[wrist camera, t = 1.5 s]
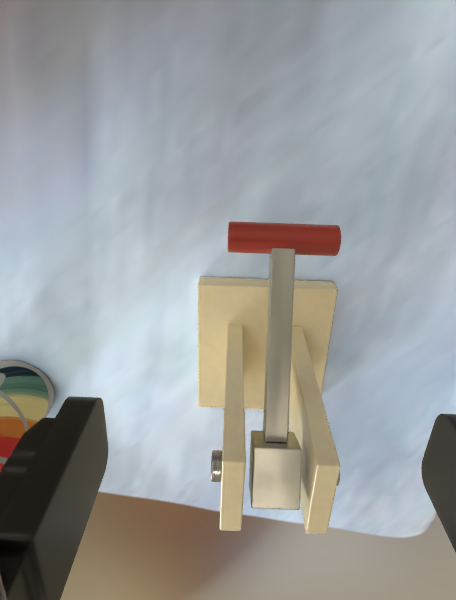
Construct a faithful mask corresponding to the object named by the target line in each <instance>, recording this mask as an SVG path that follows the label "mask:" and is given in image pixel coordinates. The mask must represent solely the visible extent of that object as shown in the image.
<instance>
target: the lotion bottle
mask: <svg viewBox="0 0 456 600" xmlns="http://www.w3.org/2000/svg"><path fill="white" fill-rule="evenodd" d="M53 401H54V390H53V387H52V384H51V382H50V381H49V379H48V378H47V377H46V375H45V374H44V373H43V372H41V371H40V370H39V369H37V368H36V367H34V366H32V365H30V364H28V363H25V362H21V361H15V360H6V361H0V473H1V471H2V467H3V466H4V464H5V462H6V461H7V459H8V458H9V456H11V455H12V451H13V450H14V448H15V447H16V445H17V443H18V442H19V440H20V439H21V437H22V435H23V434H24V433H25V432H26V431H27V430H29V429H30V428H31V427H32V426H33V425H35V424H36V423H37V422H38V421H39V420H41V419H42V418H46V416H47V415H48V413H49V411H50V409H51V407H52V404H53Z"/></svg>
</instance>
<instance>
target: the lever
mask: <svg viewBox="0 0 456 600" xmlns="http://www.w3.org/2000/svg"><path fill="white" fill-rule="evenodd" d="M340 244H341V231H340V227H339V226H337V225H313V224H284V223H256V222H229V228H228V252H240V253H268V254H270V263H269V290H268V317H267V343H266V370H265V396H264V423H263V431H251V447H250V474H249V488H250V498H251V507H252V508H263V509H289V510H299V509H300V489H301V464H302V449H301V446H300V444H299V442H298V440H297V438H296V436H295V433H294V432H288V426H289V400H290V374H291V348H292V322H293V296H294V270H295V254H296V255H324V256H336V255H337V254H338V252H339V249H340Z"/></svg>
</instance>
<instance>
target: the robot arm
mask: <svg viewBox="0 0 456 600" xmlns="http://www.w3.org/2000/svg"><path fill="white" fill-rule="evenodd" d="M107 458H108V441H107V432H106V423H105V414H104V405H103V401H102V399H101V398H93V397H68V398H67V399H66V400H65V402H64V403H63V405H62V407H61V409H60V410H59V412H58V414H57V416H56V418H42V419H41V420H39V421H38V422H37V423H36V424H35V425H33V426H32V427H31V428H30V429H29V430H27V431H26V432H25V433H24V434H23V435H22V437H21V439H20V440H19V442H18V443H17V445H16V447H15V448H14V450H13V451H12V455H11V456H9V458H8V459H7V461H6V462H5V464H4V466H3V467H2V471H1V473H0V600H60V598H61V596H62V593H63V590H64V587H65V584H66V581H67V578H68V576H69V573H70V570H71V567H72V564H73V561H74V558H75V556H76V553H77V550H78V547H79V544H80V541H81V538H82V536H83V533H84V530H85V527H86V524H87V521H88V519H89V516H90V513H91V510H92V507H93V504H94V501H95V499H96V496H97V493H98V490H99V487H100V484H101V481H102V479H103V476H104V473H105V469H106V465H107ZM422 478H423V483H424V486H425V489H426V491H427V493H428V495H429V497H430V499H431V501H432V503H433V506H434V508H435V510H436V512H437V514H438V516H439V518H440V520H441V522H442V524H443V526H444V529H445V531H446V533H447V535H448V537H449V539H450V541H451V543H452V545H453V548H454V550H455V552H456V414H440V415H439V416H438V417H437V418H436V420H435V423H434V426H433V429H432V432H431V435H430V439H429V442H428V445H427V448H426V451H425V454H424V457H423V460H422Z"/></svg>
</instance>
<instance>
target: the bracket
mask: <svg viewBox="0 0 456 600" xmlns="http://www.w3.org/2000/svg"><path fill="white" fill-rule="evenodd" d="M268 290H269V279H249V278H221V277H200V279H199V284H198V406H199V407H221V408H224V426H223V450H222V451H220V450H213V451H212V462H211V481H213V482H221V507H220V530H229V531H231V530H232V531H241V525H242V510H243V495H244V480H245V465H246V456H245V411H244V408H248V409H264V396H265V370H266V343H267V317H268ZM336 296H337V288H336V286H335V284H334V282H332V281H305V280H294V296H293V322H292V348H291V374H290V400H289V428H290V432H294V433H295V436H296V438H297V440H298V442H299V444H300V446H301V449H302V464H301V489H300V499H301V506H302V512H303V518H304V525H305V531H306V533H308V534H327V530H328V525H329V520H330V515H331V510H332V505H333V500H334V495H335V490H336V486H338V484H339V480H340V463H339V459H338V456H337V452H336V448H335V445H334V441H333V437H332V434H331V430H330V427H329V423H328V419H327V416H326V412H325V409H324V405H323V401H322V398H321V392H322V385H323V379H324V373H325V366H326V360H327V354H328V347H329V341H330V335H331V328H332V322H333V316H334V309H335V303H336Z"/></svg>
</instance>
